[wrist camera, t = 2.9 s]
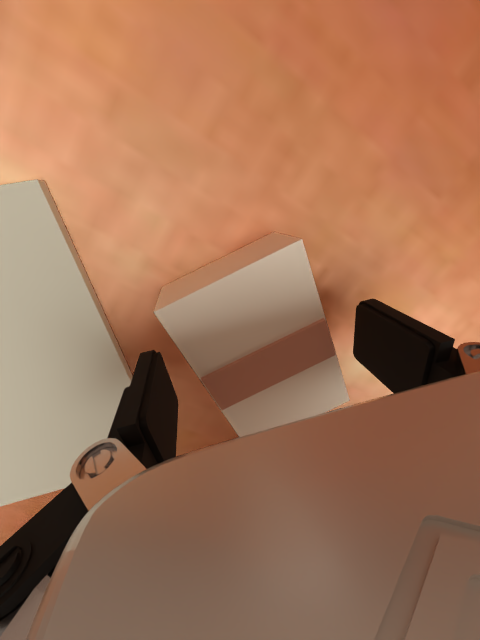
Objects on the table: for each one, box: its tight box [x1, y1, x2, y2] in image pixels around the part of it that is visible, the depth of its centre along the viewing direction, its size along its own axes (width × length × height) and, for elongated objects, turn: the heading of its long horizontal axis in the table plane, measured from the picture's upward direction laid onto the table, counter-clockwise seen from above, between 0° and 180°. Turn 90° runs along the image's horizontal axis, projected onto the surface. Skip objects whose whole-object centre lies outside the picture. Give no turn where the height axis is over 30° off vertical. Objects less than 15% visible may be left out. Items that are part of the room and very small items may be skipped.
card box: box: [154, 232, 350, 437], centre depth 12 cm, size 9×6×4 cm, turn 24°
